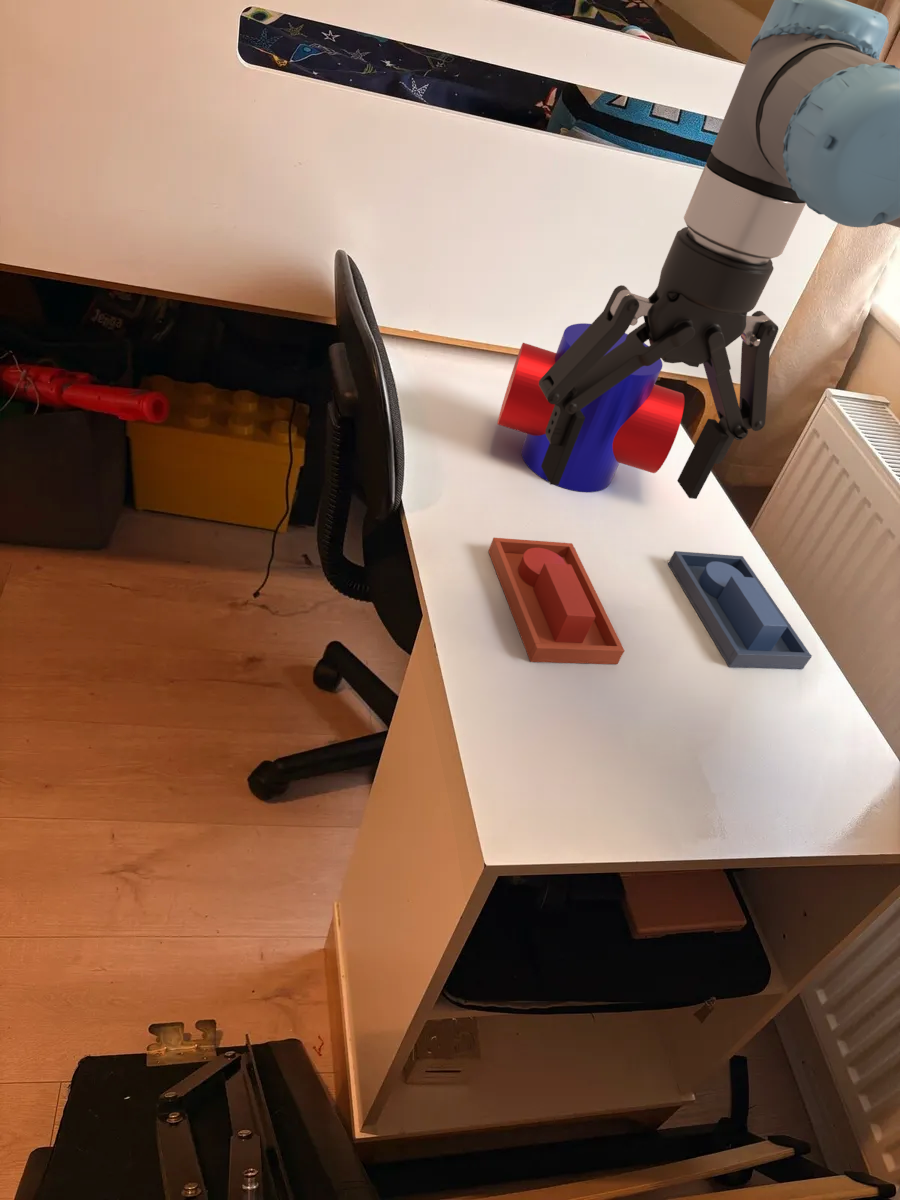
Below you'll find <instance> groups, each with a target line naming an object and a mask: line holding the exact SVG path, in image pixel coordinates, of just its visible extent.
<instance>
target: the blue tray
mask: <svg viewBox="0 0 900 1200" xmlns="http://www.w3.org/2000/svg"><path fill="white" fill-rule="evenodd" d="M715 561H716V562H723V563H726V564H729V565H731V566H733V567H734V568H736V569H737V570H738V571H740V572H741V573H742V574H743V576H744V577H753V578H755V579H756V581H757V582H758V584H759V585H760V586H761V588H762V589H763V591H764V592H765V594H766V595H767V597H768V598H769V600H770V601H771V603H772V604H773V605H774V607H775V608H776V610H777V611H778V613H779V614H780V616H781V617H782V619H783V620H784V622H785V623H786V624H787V628H786V629H785V631H784V632H783V634H782V635H781V637H780V638H779V640H778V641H777V643H776V644H775V645H774V647H773V648H772V650H748V649H747V648H746V646H745V645H744V643H743V642H742V640H741V638H740V637H739V635H738V634H737V632H736V630H735V629H734V627H733V626H732V624H731V622H730V621H729V619H728V618H727V616H726V614H725V613H724V611H723V609H722V608H721V606H720V605H719V603H718V601H717V598H715V597H713V596H711V595H710V594H709V593H707V592H706V591H705V590H704V589H703V588H702V586H701V584H700V581H699V578H700V576H701V574H702V572H703V571H704V569H705V567H706V565H707V564H708V563H710V562H715ZM667 565H668V566H669V568H670V570H671V571H672V573H673V575H674V577H675V579H676V580H677V581H678V583H679V585H680V587H681V589H682V590H683V592H684V594H685V595H686V597H687V598H688V600H689V602H690V603H691V605H692V607H693V608H694V610H695V612H696V614H697V615H698V617H699V619H700V621H701V622H702V624H703V626H704V627H705V629H706V631H707V632H708V634H709V635H710V637H711V639H712V641H713V642H714V644H715V646H716V647H717V649H718V651H719V652H720V654H721V656H722V658H723V659H724V661H725V662H726V664H727V666H728V667H729V668H749V669H750V668H751V669H786V670H787V669H789V670H790V669H791V670H803V669H804V668H805V666H806V665H807V664H808V663H809V661H810V660H811V659H812V656H813V655H812V654H811V653H810V651H809V650H808V649H807V647H806V646H805V644H804V643H803V641H802V640H801V638H800V637H799V636H798V634H797V633H796V631H795V630H794V628H793V627H792V626H791V624H790V623H789V621H788V620H787V618H786V617H785V616H784V614H783V613H782V611H781V610H780V608H779V606H778V604H776V602H775V600H773V599H774V598H772V596H771V595H770V594H769V592H768V591H767V589H766V588H765V586H764V585H763V583H762V582H761V580H760V579H759V577H758V576H757V575H756V573H755V572H754V570H753V568H752V567H751V566H750V565H749V563H748V561H747V560H746V559H745V558H744V556H743V555H733V554H732V555H731V554H721V553H719V554H718V553H708V552H707V553H706V552H692V551H678V550H675V551H674V552H673V553H672V555H671V557H670V559H669V561H668V562H667Z"/></svg>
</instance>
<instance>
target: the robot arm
mask: <svg viewBox="0 0 900 1200" xmlns="http://www.w3.org/2000/svg"><path fill="white" fill-rule="evenodd" d="M889 24H890V23H889V19H888V17H886V15H884V14H883V13H881V12H879V11H877V10H874V9H871V8H869V7H865V6H863V5H860V4H858V3H854V2H851V1H848V0H773V3H772V4H771V7H770V9H769V11H768V13H767V15H766V17H765V19H764V22H763V23H762V25H761V28H760V30H759V31H758V33H757V35H756V36H755V37H754V38H753V40H752V42H751V45H750V54H749V56H748V58H747V61H746V63H745V66H744V68H743V70H742V72H741V76H740V78H739V81H738V83H737V85H736V88H735V91H734V93H733V96H732V98H731V100H730V102H729V105H728V107H727V110H726V113H725V115H724V118H723V120H722V122H721V125H720V127H719V129H718V132H717V134H716V138H715V139H714V142H713V145H712V147H711V150H710V153H709V154H708V157H707V159H706V161H705V162H706V163H705V165H704V167H703V169H702V172H701V175H700V176H699V179H698V181H697V184H696V187H695V189H694V191H693V194H692V196H691V199H690V201H689V204H688V206H687V209H686V211H685V213H684V215H683V220H684V223H685V225H686V226H684V227H683V228H681V229H679V230H677V232H676V234H675V236H674V239H673V241H672V243H671V245H670V248H669V250H668V253H667V255H666V258H665V260H664V263H663V265H662V268H661V270H660V275H659V280H658V284H657V286H656V288H655V290H654V291H653V292H652V293H651V295H649V296H648V297H644V296H641V295H638V294H635V293H633V292H631V291H630V290H629V288H628V287H627V286H625V285H622V284H621V285H618V286H616V287H615V288H614V289H613V291H612V293H611V295H610V297H609V299H608V301H607V302H606V305H605V307H604V309H603V310H602V311H601V313H600V314H599V315H598V316H597V317H596V318H595V319H594V321H593V322H592V323H590V324H591V325H590V326H589V327H588V328H587V329H586V330H585V331H584V333H583V334H582V335H581V336H580V337H579V338H578V339H577V340H576V341H575V342H574V343H573V344H572V346H571V347H570V348H569V349H568V350H567V351H566V352H565V353H564V354H563V355H562V356H561V357H560V358H559V360H558V361H557V362H556V363H555V364H554V365H553V366H552V367H551V368H550V369H549V370H548V371H547V372H546V374H545V375H544V376H543V377H542V378H541V379H540V381H539V386H540V388H541V390H542V392H543V393H544V395H545V397H546V399H547V400H548V402H549V403H550V404H555V406H554V409H553V411H552V414H551V417H550V420H549V422H548V425H547V428H546V437H547V439H548V441H549V442H550V444H549V447H548V449H547V452H546V454H545V457H544V460H543V462H542V465H541V467H542V469H543V471H544V473H545V475H546V477H547V479H548V481H549V482H548V481H547V482H548V483H549V485H554V486H557V485H559V482H560V480H561V477H562V475H563V472H564V470H565V467H566V465H567V462H568V460H569V457H570V455H571V452H572V450H573V447H574V445H575V442H576V440H577V437H578V435H579V432H580V430H581V427H582V425H583V422H584V420H585V417H584V415H583V413H582V412H581V409H582V408H584V407H585V406H586V405H588V404H589V403H591V402H592V401H594V400H595V399H596V398H598V397H599V396H601V395H602V394H604V393H605V392H606V391H608V390H609V389H611V388H612V387H614V386H615V385H616V384H618V383H619V382H621V381H622V380H624V379H625V378H626V377H628V376H629V375H631V374H632V373H633V372H635V371H636V370H638V369H639V368H641V367H642V366H650V365H652V364H653V363H655V362H656V361H657V360H659V359H661V361H662V362H663V363H669V364H679V363H683V364H685V365H687V366H689V367H693V368H699V367H700V365H703V368H704V371H705V372H704V373H705V375H706V378H707V382H708V385H709V389H710V393H711V396H712V400H713V403H714V407H715V411H716V414H717V417H718V419H719V421H717V420H716V419H713V418H707V420H706V422H705V424H704V425H703V428H702V430H701V432H700V434H699V436H698V438H697V440H696V442H695V444H694V446H693V448H692V450H691V452H690V453H689V456H688V459H687V460H686V462H685V464H684V466H683V468H682V470H681V472H680V474H679V476H678V479H677V480H676V481H677V483H678V484H679V486H680V487H681V489H682V490H683V492H684V494H686V496H687V497H688V498H689V499H693V500H697V499H698V497H699V495H700V493H701V491H702V489H703V487H704V485H705V483H706V481H707V480H708V478H709V476H710V474H711V472H712V470H713V468H714V466H715V465H720V464H721V463H722V462H723V461H724V459H725V458H726V455H727V453H728V451H729V450H730V448H731V447H732V445H733V443H734V440H736V441H742V440H744V439H745V438H746V437H747V436H748V434H749V430H752V431H754V432H759V431H760V430H762V429H763V428H764V427H765V425H766V417H767V402H768V386H769V372H770V370H769V369H770V357H771V355H770V354H771V349H772V347H773V345H774V342H775V340H776V338H777V335H778V333H779V326H778V325H777V324H776V323H775V322H774V321H773V320H772V319H771V318H770V317H769V316H768V315H766V313H765V312H763V311H762V310H757V311H755V312H753V313H752V314H751V315H748V313H749V312H751V311H753V310H754V309H755V308H756V306H757V304H758V302H759V300H760V298H761V296H762V293H763V292H764V290H765V288H766V286H767V284H768V281H769V280H770V277H771V275H772V274H773V272H774V269H775V268H774V265H773V260H772V259H774V258H778V257H779V256H781V255H783V252H784V251H785V248H786V246H787V245H788V243H789V240H790V238H791V236H792V234H793V232H794V229H795V227H796V225H797V223H798V220H799V219H800V217H801V215H802V214H803V213H802V212H803V211H804V209H805V206H807V207H808V208H809V209H810V210H811V211H812V212H815V213H816V214H818V215H823V216H824V217H826V218H828V219H829V220H831V221H833V222H834V223H836V224H839V225H842V226H845V227H849V228H868V227H876V226H879V225H882V224H884V225H885V224H886V225H889V226H893V227H896V228H900V67H898V66H896V65H895V64H890V63H888V62H885V61H882V60H880V55H881V53H882V51H883V48H884V45H885V42H886V40H887V38H888V35H889V28H890V26H889ZM641 317H643V321H644V322H643V323H642V324H640V325H638V326H637V327H636V328H634V329H633V330H632V331H630V332H629V333H627V334H628V335H627V337H626V340H625V341H624V342H623V343H621V344H620V345H618V346H617V347H616V348H614V349H613V350H611V351H610V352H609V353H607V352H608V351H609V350H610V349H611V348H612V347H613V346H614V344H615V343H616V342H617V341H618V340H619V339H620V338H621V337H622V336H623V335H624V333H626V332H627V330H628V329H629V328H630V327H631V326H636V325H637V324H638V320H639V319H640V318H641ZM739 338H741V340H742V341H741V354H740V377H739V378H740V379H739V380H740V381H739V402H738V398H737V394H736V390H735V386H734V382H733V379H732V375H731V370H732V368H731V367H732V366H731V364H730V359H729V356H728V355H729V354H728V351H727V347H728V346H730V345H731V344H732V343H733V342H735V341H736V340H737V339H739ZM647 341H648V343H649V345H648V347H645V346H644V345H643V343H645V342H647ZM606 353H607V354H606ZM605 354H606V355H605ZM892 1200H900V1186H898V1188H897V1192H896V1193H895V1194H894V1197H893V1199H892Z"/></svg>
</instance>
